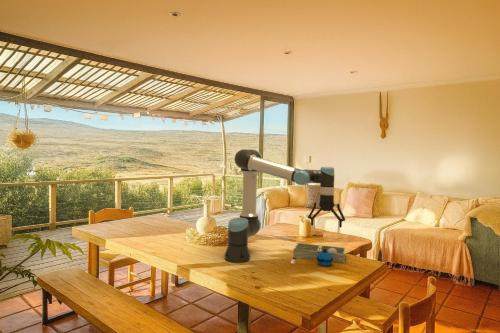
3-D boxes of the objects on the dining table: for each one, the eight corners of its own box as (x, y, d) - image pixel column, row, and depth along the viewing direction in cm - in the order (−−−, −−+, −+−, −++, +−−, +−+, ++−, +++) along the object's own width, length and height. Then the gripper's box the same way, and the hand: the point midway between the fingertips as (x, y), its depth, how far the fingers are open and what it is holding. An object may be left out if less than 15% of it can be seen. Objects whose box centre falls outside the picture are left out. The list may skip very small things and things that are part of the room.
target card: (304, 265, 189) (304, 264, 189) (290, 263, 191) (290, 262, 191) (305, 261, 195) (305, 260, 195) (292, 260, 197) (292, 259, 197)
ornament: (335, 266, 188) (335, 248, 188) (327, 270, 182) (328, 251, 181) (321, 262, 194) (322, 245, 194) (313, 266, 188) (314, 248, 187)
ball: (337, 260, 197) (337, 249, 196) (326, 258, 198) (327, 248, 198) (337, 257, 202) (337, 247, 202) (327, 255, 204) (327, 246, 204)
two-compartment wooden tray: (344, 265, 191) (345, 254, 191) (292, 258, 200) (293, 249, 199) (345, 257, 205) (345, 247, 205) (296, 252, 214) (296, 242, 214)
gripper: (350, 194, 186) (349, 232, 187) (305, 192, 193) (304, 229, 194) (350, 196, 179) (349, 235, 180) (303, 194, 186) (302, 231, 187)
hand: (326, 232), depth 187 cm, fingers open, 13 cm apart
